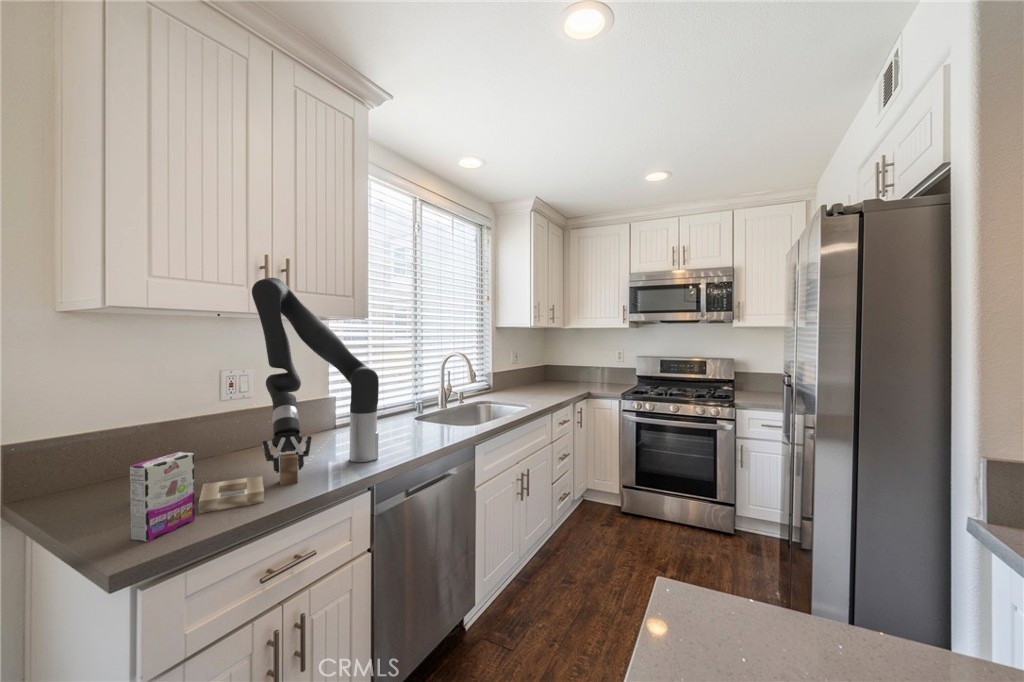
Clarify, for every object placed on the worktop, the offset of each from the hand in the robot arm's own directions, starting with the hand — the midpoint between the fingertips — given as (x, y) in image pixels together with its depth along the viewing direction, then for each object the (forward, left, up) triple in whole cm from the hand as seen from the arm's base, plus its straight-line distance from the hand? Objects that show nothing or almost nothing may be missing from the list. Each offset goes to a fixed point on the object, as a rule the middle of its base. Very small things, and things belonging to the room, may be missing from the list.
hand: (289, 469), depth 127 cm
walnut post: (0, -2, -4) cm, 5 cm away
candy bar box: (+27, +19, -4) cm, 33 cm away
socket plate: (+14, +5, -4) cm, 16 cm away
